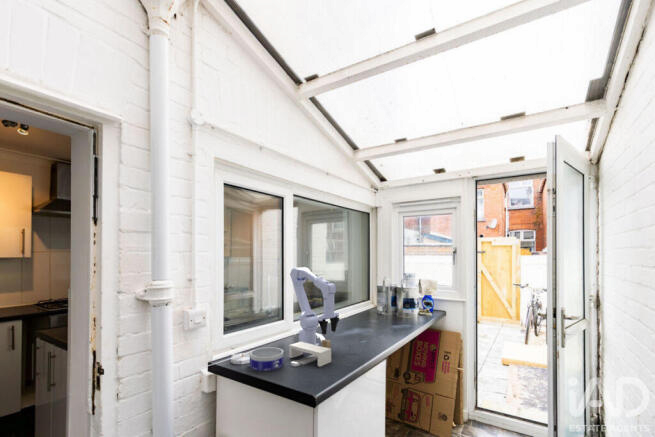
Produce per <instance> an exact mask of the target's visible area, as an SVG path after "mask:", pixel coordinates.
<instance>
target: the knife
mask: <svg viewBox="0 0 655 437" xmlns="http://www.w3.org/2000/svg"><path fill="white" fill-rule="evenodd" d="M316 339H319V340H320V342H321V343H322V340H324V339H325V340H326V338H325V337H324V336H323V334H322V333H317V332H316Z"/></svg>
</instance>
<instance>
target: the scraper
mask: <svg viewBox="0 0 655 437" xmlns="http://www.w3.org/2000/svg"><path fill="white" fill-rule="evenodd" d="M331 344H332V341H331V340H330V339H326V338H325V339H324V340H322V342H321V347H325V348H330V349H331V350H332V345H331ZM296 361H300V362H301V365H302V366H304V365H308V364H310V363H312V362H315V361H318V356H317V355H313V354H310V355H308V356H305V357H302V358H300V359H297V360H296ZM301 365H300V366H301Z"/></svg>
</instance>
